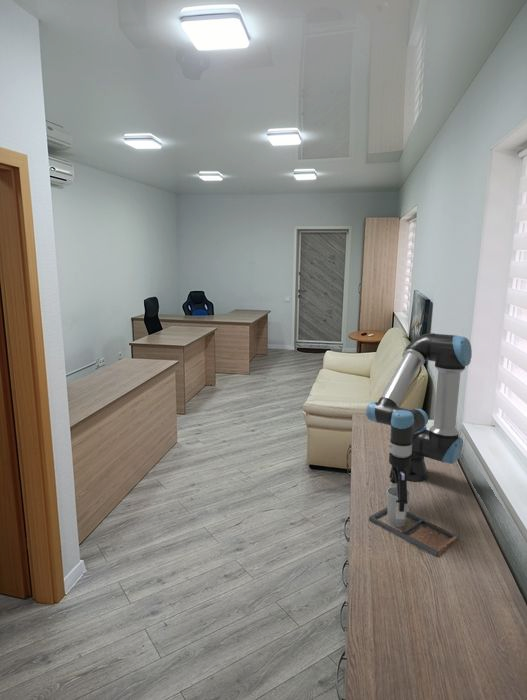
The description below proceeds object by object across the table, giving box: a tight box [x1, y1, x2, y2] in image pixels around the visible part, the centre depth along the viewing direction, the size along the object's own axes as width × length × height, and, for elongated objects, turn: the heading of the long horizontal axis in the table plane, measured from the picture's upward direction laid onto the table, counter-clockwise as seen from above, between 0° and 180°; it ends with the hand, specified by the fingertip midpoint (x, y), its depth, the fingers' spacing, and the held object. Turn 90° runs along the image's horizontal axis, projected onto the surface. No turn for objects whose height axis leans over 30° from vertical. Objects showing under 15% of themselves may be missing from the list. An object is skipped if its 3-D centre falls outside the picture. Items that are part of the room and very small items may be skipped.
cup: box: [386, 486, 410, 528], centre depth 163 cm, size 8×8×12 cm
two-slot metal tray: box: [368, 506, 460, 557], centre depth 159 cm, size 27×14×2 cm, turn 39°
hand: (396, 508), depth 163 cm, fingers open, 13 cm apart
